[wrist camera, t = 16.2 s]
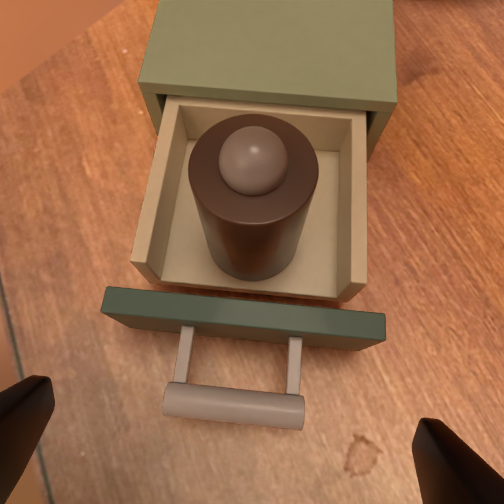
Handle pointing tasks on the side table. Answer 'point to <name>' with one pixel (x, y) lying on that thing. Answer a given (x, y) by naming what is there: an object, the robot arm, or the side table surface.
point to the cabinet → (275, 55)
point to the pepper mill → (253, 192)
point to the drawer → (248, 311)
